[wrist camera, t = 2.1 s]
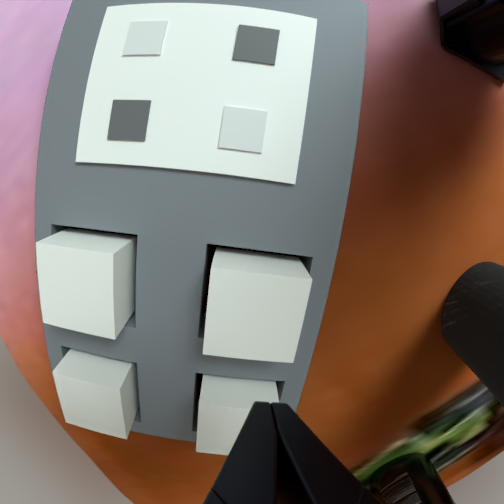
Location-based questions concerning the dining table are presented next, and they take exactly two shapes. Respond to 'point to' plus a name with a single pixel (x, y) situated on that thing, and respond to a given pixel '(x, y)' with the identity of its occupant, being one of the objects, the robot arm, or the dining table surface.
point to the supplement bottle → (410, 482)
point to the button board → (200, 167)
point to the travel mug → (478, 323)
